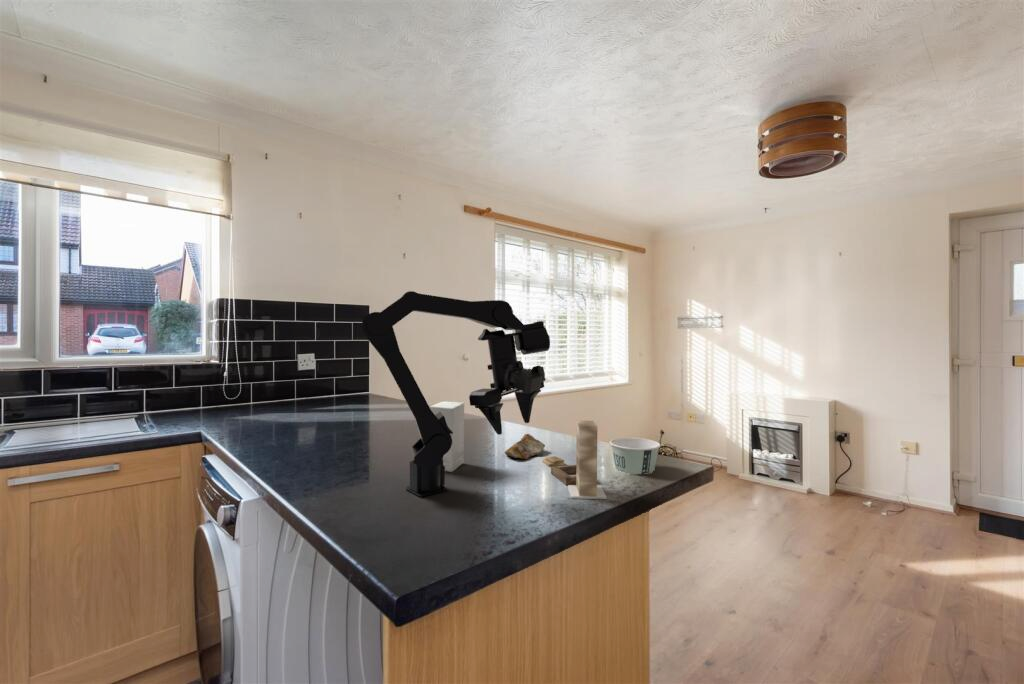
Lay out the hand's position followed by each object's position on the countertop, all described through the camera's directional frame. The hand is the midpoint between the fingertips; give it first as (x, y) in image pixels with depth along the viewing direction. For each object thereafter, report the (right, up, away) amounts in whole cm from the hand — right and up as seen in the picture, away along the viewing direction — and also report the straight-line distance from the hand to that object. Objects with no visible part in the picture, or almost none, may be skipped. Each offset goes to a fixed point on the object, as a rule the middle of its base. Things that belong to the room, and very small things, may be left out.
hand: (513, 428), depth 102 cm
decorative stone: (+3, -12, +25) cm, 28 cm away
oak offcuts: (+10, -12, +16) cm, 22 cm away
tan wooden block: (+15, -12, -6) cm, 20 cm away
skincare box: (-16, -12, +12) cm, 24 cm away
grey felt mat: (+15, -12, -6) cm, 20 cm away
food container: (+30, -12, +12) cm, 34 cm away
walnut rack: (+14, -12, +4) cm, 19 cm away
